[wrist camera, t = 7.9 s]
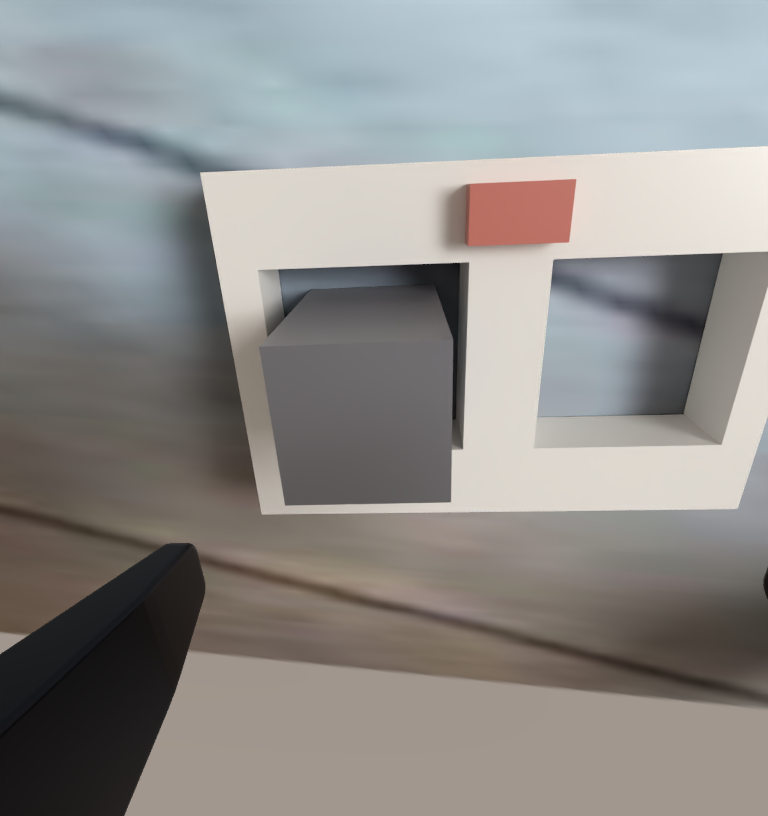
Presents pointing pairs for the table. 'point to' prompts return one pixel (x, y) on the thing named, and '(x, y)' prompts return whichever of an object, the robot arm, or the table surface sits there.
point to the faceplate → (522, 311)
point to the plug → (362, 397)
